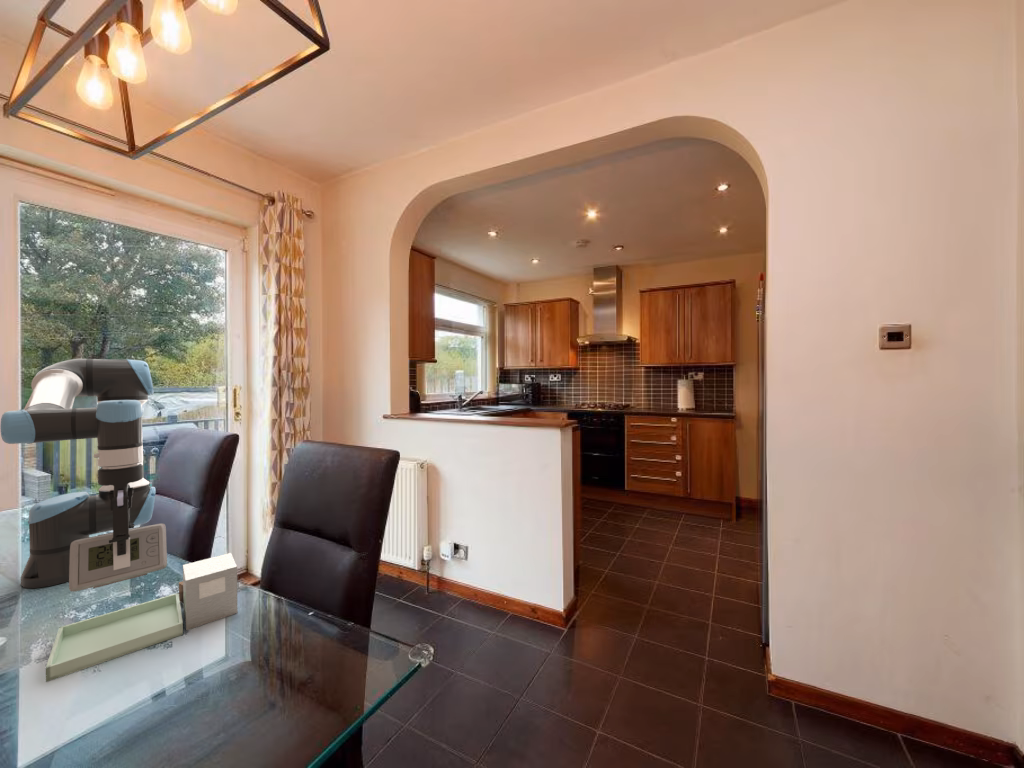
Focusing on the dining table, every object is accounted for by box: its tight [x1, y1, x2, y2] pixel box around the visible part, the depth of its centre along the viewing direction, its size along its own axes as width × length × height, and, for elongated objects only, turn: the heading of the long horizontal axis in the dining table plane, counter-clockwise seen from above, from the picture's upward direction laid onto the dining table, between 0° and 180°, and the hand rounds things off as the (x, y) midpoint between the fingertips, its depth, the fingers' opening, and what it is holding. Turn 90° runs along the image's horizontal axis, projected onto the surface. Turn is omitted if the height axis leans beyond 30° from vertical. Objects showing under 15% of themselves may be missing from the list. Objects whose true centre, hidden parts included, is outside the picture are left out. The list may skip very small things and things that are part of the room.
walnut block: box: [178, 580, 183, 604], centre depth 104 cm, size 5×5×5 cm
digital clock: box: [68, 523, 168, 593], centre depth 91 cm, size 16×9×11 cm, turn 122°
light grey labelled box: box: [182, 552, 239, 631], centre depth 99 cm, size 10×10×12 cm
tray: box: [44, 592, 184, 683], centre depth 89 cm, size 17×21×3 cm
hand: (122, 562), depth 92 cm, fingers closed on digital clock, 6 cm apart
